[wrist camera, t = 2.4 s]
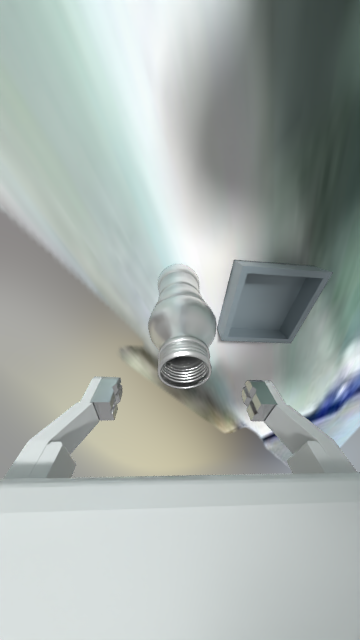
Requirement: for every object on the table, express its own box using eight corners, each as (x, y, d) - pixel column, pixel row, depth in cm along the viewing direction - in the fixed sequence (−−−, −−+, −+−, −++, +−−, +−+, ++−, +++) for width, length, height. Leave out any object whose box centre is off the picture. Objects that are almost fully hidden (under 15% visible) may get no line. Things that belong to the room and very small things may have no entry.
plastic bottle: (158, 259, 26) (127, 335, 9) (199, 261, 26) (245, 336, 9) (159, 296, 29) (138, 400, 12) (195, 297, 29) (223, 400, 13)
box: (233, 259, 26) (242, 265, 23) (313, 265, 27) (333, 272, 24) (216, 328, 33) (221, 340, 30) (279, 331, 34) (290, 343, 31)
